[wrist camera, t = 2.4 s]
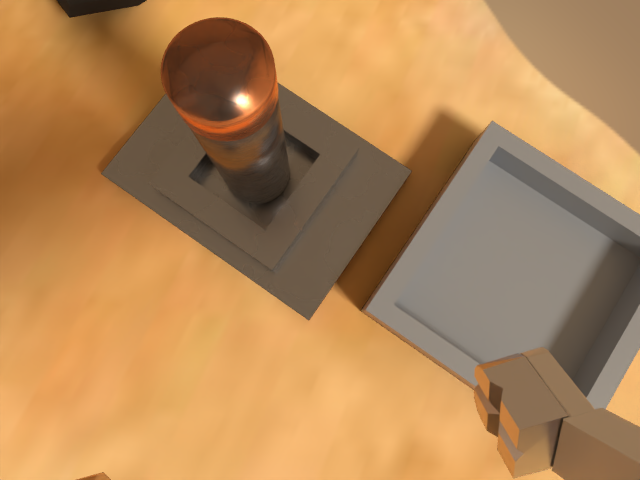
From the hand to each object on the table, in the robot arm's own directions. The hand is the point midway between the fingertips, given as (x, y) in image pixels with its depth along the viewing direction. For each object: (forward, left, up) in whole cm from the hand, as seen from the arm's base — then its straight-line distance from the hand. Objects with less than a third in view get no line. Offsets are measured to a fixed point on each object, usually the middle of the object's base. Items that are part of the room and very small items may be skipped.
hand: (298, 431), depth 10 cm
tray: (+7, +10, -15) cm, 19 cm away
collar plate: (-8, +7, -15) cm, 19 cm away
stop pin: (-8, +7, -14) cm, 18 cm away
